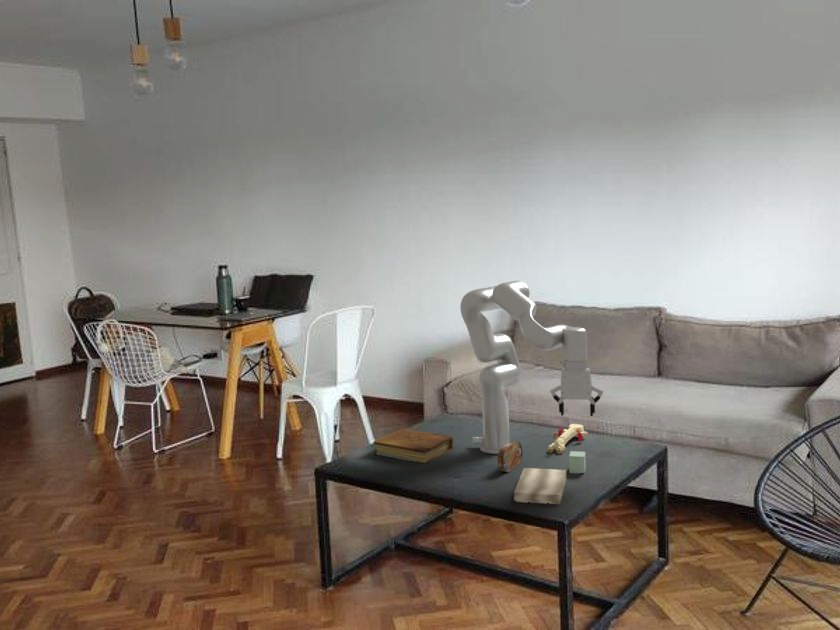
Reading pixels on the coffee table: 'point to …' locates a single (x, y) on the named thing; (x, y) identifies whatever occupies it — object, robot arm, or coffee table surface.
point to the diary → (414, 445)
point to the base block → (540, 486)
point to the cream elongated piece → (566, 437)
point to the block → (577, 462)
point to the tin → (509, 456)
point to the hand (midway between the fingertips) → (577, 414)
